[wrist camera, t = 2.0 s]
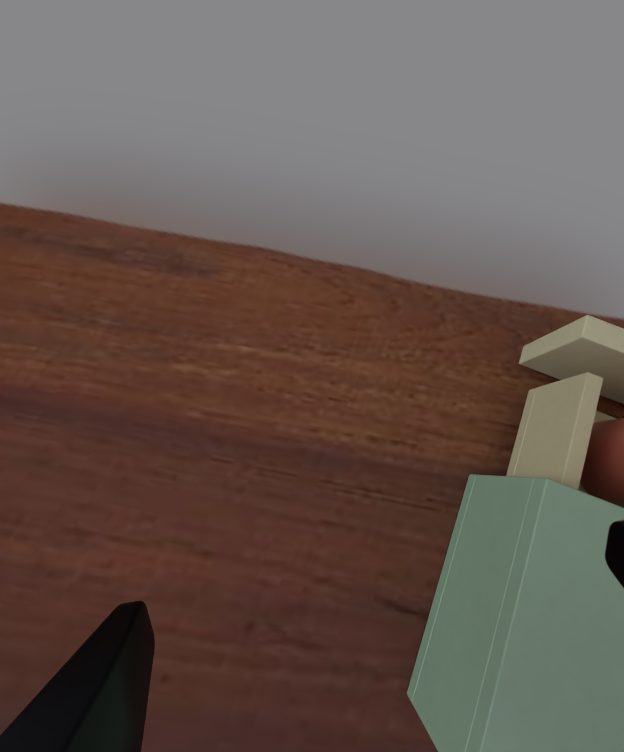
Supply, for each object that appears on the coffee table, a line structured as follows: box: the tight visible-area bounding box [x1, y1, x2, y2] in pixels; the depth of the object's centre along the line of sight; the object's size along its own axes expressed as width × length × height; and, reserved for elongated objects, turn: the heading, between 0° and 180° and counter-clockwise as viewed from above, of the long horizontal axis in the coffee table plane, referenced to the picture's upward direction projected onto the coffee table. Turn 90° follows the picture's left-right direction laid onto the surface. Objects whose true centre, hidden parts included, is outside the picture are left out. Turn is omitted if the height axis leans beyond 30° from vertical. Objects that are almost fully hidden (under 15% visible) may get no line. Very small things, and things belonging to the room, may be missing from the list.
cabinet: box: [407, 474, 624, 752], centre depth 19 cm, size 12×13×7 cm
